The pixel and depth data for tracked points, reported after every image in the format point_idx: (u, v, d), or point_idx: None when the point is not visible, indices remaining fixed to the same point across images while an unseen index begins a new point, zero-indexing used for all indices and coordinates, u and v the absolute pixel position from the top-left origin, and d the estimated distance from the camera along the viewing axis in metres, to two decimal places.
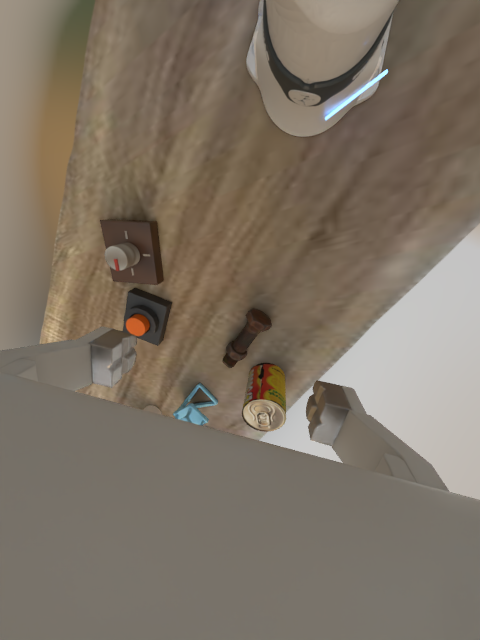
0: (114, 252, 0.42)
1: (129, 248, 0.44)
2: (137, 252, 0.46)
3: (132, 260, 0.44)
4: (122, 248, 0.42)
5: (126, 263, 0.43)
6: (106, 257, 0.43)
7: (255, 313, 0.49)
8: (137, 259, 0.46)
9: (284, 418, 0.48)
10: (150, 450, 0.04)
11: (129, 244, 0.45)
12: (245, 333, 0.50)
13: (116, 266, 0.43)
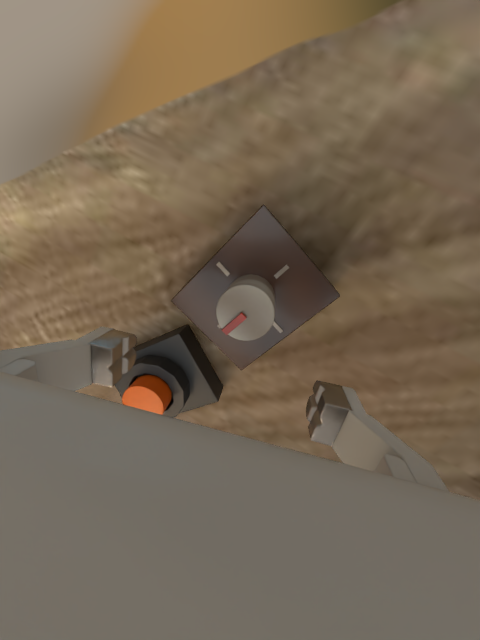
0: (255, 304, 0.17)
1: None
2: None
3: None
4: None
5: (254, 337, 0.18)
6: (228, 294, 0.17)
7: None
8: None
9: None
10: (150, 450, 0.04)
11: (273, 293, 0.20)
12: None
13: (231, 326, 0.18)
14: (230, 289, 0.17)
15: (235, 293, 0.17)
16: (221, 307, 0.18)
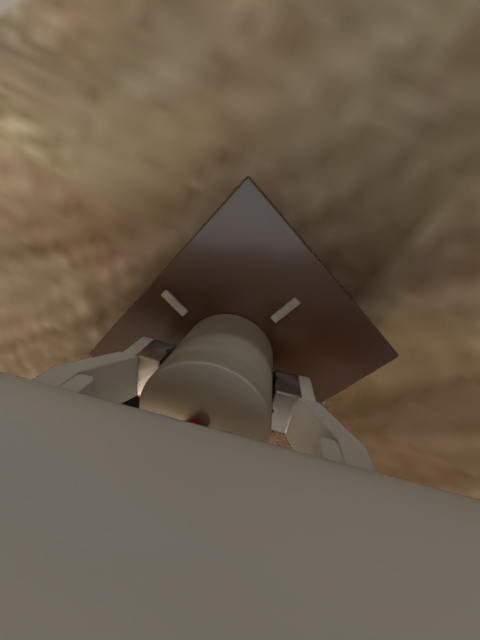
0: (225, 404, 0.07)
1: (272, 388, 0.09)
2: None
3: None
4: (271, 416, 0.08)
5: None
6: (161, 381, 0.07)
7: None
8: None
9: None
10: (150, 450, 0.04)
11: (270, 353, 0.10)
12: None
13: None
14: (165, 370, 0.07)
15: (177, 379, 0.07)
16: (149, 405, 0.08)
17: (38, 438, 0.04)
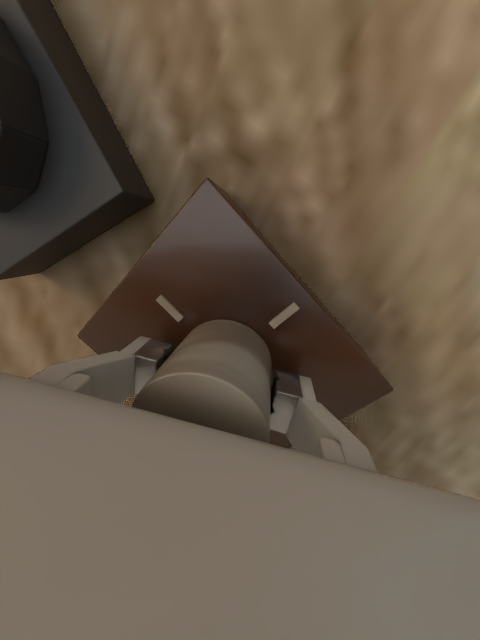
0: (220, 416, 0.07)
1: None
2: None
3: None
4: (269, 429, 0.07)
5: None
6: (154, 393, 0.07)
7: None
8: None
9: None
10: (150, 450, 0.04)
11: (268, 360, 0.10)
12: None
13: None
14: (157, 381, 0.07)
15: (170, 391, 0.07)
16: None
17: (38, 438, 0.04)
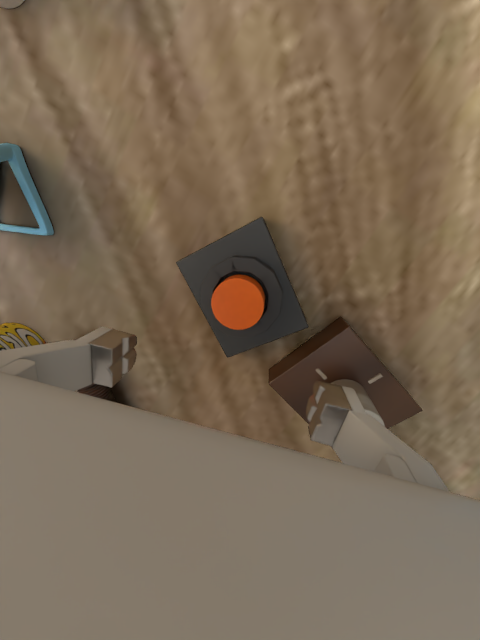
0: None
1: None
2: None
3: None
4: None
5: None
6: None
7: None
8: None
9: None
10: (150, 450, 0.04)
11: None
12: None
13: None
14: None
15: None
16: None
17: (38, 438, 0.04)
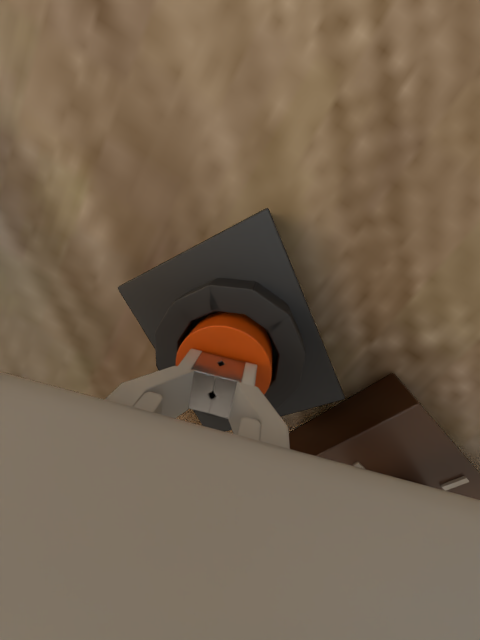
0: None
1: None
2: None
3: None
4: None
5: None
6: None
7: None
8: None
9: None
10: (150, 450, 0.04)
11: None
12: None
13: None
14: None
15: None
16: None
17: (38, 438, 0.04)
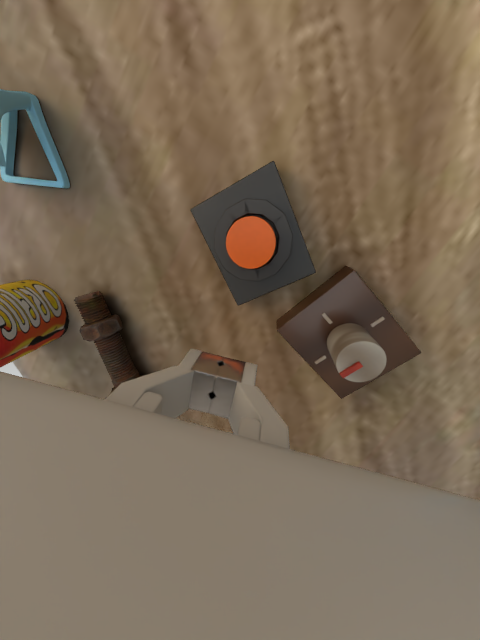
0: (371, 355, 0.22)
1: None
2: None
3: None
4: (385, 360, 0.22)
5: (365, 380, 0.23)
6: (349, 348, 0.22)
7: None
8: None
9: None
10: (150, 450, 0.04)
11: None
12: (120, 370, 0.31)
13: (348, 372, 0.22)
14: (352, 344, 0.21)
15: (356, 347, 0.21)
16: (341, 357, 0.22)
17: (38, 438, 0.04)
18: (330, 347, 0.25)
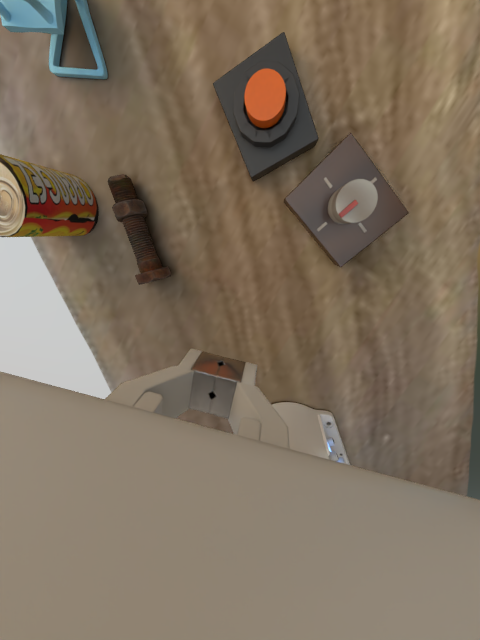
0: (365, 193, 0.26)
1: None
2: None
3: None
4: (376, 199, 0.26)
5: (360, 220, 0.27)
6: (347, 187, 0.26)
7: None
8: None
9: None
10: (150, 450, 0.04)
11: None
12: (145, 250, 0.35)
13: (346, 210, 0.26)
14: (349, 183, 0.26)
15: (352, 185, 0.26)
16: (340, 197, 0.26)
17: (38, 438, 0.04)
18: (330, 203, 0.29)
